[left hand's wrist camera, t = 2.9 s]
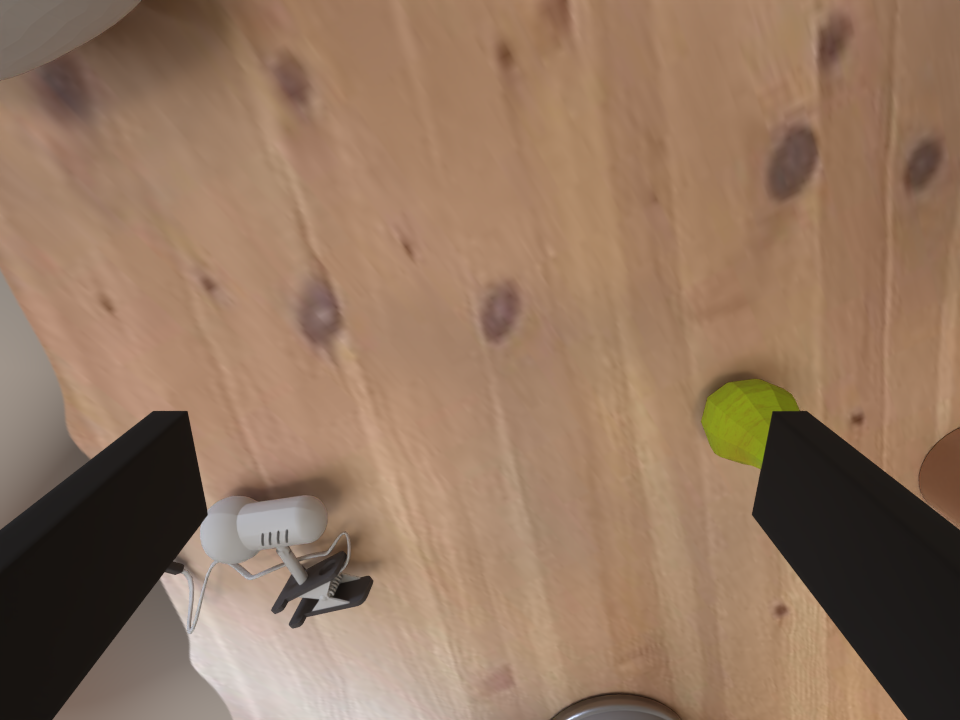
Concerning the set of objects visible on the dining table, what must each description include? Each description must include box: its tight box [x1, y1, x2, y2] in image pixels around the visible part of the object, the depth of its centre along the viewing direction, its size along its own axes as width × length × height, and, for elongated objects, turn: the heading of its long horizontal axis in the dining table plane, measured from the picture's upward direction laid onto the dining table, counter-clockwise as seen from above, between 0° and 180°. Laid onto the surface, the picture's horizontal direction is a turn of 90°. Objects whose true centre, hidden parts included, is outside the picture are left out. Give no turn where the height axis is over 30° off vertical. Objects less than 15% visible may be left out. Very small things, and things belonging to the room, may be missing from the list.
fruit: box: [701, 379, 800, 469], centre depth 37 cm, size 6×6×12 cm
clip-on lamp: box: [165, 495, 373, 634], centre depth 45 cm, size 12×6×18 cm
